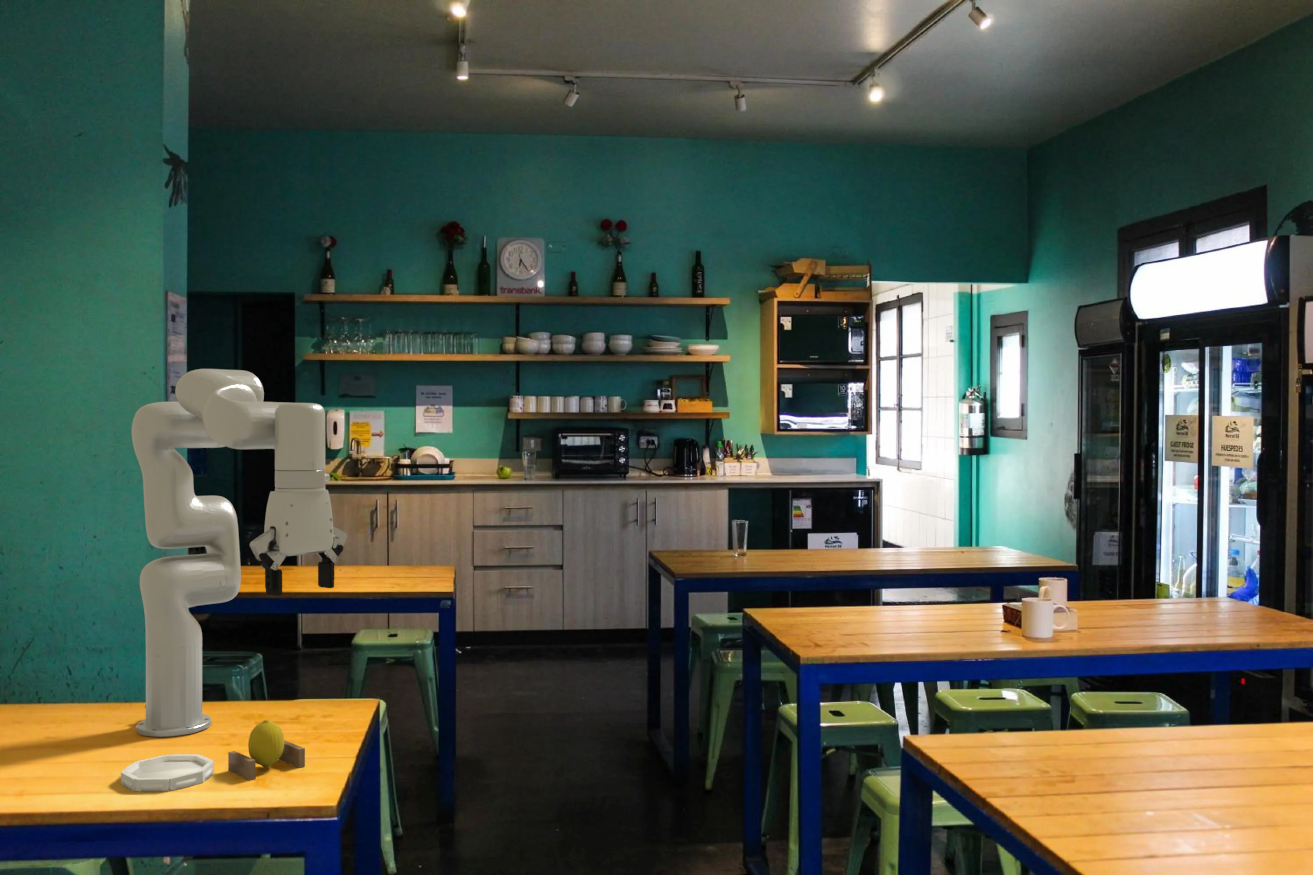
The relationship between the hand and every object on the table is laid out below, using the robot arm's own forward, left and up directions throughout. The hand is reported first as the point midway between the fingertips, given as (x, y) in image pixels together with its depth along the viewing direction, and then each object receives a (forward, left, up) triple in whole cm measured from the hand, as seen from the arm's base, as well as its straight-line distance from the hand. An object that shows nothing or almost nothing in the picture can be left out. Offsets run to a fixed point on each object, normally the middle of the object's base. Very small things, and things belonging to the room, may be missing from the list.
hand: (300, 591), depth 172 cm
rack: (-11, 0, -30) cm, 32 cm away
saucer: (-18, -13, -30) cm, 37 cm away
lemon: (-11, 0, -30) cm, 32 cm away
